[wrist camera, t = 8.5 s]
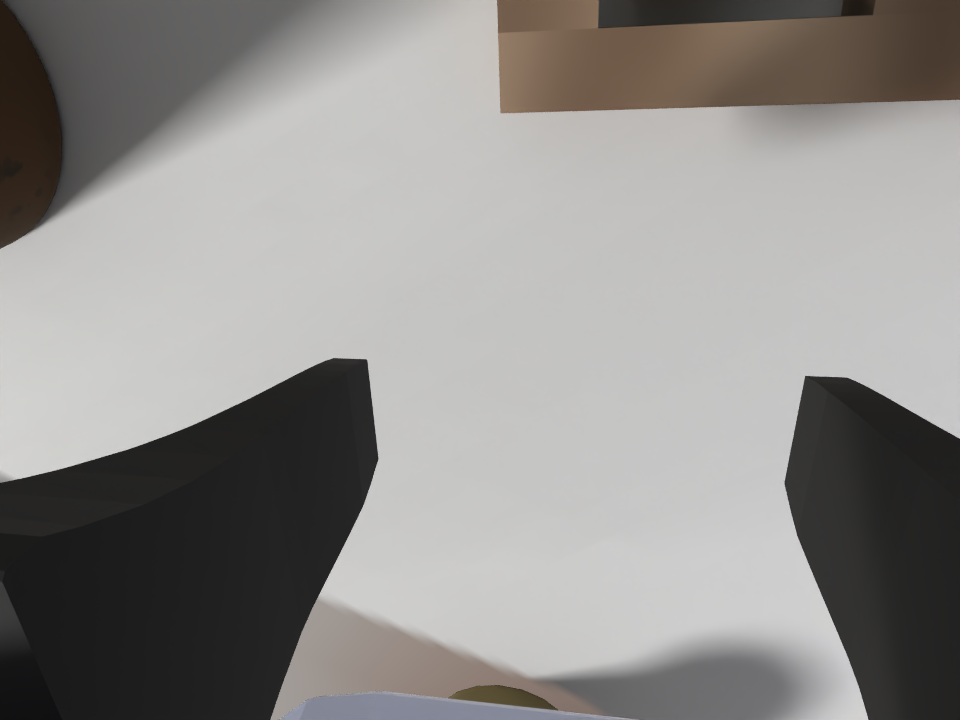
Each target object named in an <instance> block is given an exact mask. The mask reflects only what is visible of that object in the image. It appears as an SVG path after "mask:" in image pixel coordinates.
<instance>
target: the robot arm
mask: <svg viewBox="0 0 960 720" xmlns="http://www.w3.org/2000/svg"><path fill="white" fill-rule="evenodd" d="M377 462H378V451H377V443H376V434H375V425H374V416H373V407H372V398H371V390H370V381H369V372H368V363H367V360H366V359H339V358H333V359H330V360H327V361H324V362H322V363H320V364H317V365H315V366H313V367H311V368H309V369H307V370H305V371H303V372H301V373H299V374H297V375H295V376H293V377H291V378H289V379H287V380H285V381H283V382H281V383H279V384H277V385H275V386H274V387H272V388H270V389H268V390H266V391H264V392H262V393H260V394H258V395H256V396H254V397H252V398H250V399H248V400H246V401H244V402H242V403H240V404H238V405H235V406H233V407H231V408H229V409H227V410H225V411H223V412H221V413H218V414H216V415H214V416H212V417H210V418H208V419H206V420H203V421H201V422H199V423H197V424H194V425H192V426H190V427H187V428H185V429H183V430H180V431H178V432H175V433H173V434H170V435H167V436H165V437H162V438H159V439H157V440H154V441H151V442H148V443H146V444H143V445H140V446H137V447H134V448H131V449H128V450H125V451H122V452H118V453H115V454H112V455H108V456H105V457H101V458H98V459H95V460H91V461H88V462H84V463H81V464H78V465H74V466H71V467H67V468H64V469H60V470H56V471H52V472H48V473H43V474H39V475H35V476H31V477H26V478H22V479H17V480H12V481H8V482H3V483H0V720H270V719H271V716H272V713H273V710H274V707H275V704H276V701H277V698H278V695H279V692H280V689H281V686H282V684H283V681H284V678H285V676H286V673H287V670H288V667H289V665H290V662H291V659H292V656H293V654H294V651H295V649H296V646H297V643H298V640H299V638H300V635H301V632H302V630H303V628H304V625H305V623H306V621H307V619H308V617H309V614H310V612H311V610H312V607H313V605H314V604H315V602H316V600H317V598H318V596H319V594H320V592H321V590H322V588H323V586H324V584H325V582H326V580H327V578H328V576H329V574H330V572H331V570H332V568H333V566H334V564H335V562H336V560H337V558H338V556H339V554H340V552H341V550H342V548H343V546H344V544H345V542H346V540H347V538H348V536H349V534H350V532H351V530H352V528H353V526H354V524H355V522H356V520H357V518H358V516H359V513H360V511H361V509H362V507H363V505H364V502H365V499H366V496H367V493H368V490H369V487H370V484H371V481H372V478H373V475H374V471H375V468H376V465H377ZM785 487H786V492H787V496H788V500H789V505H790V509H791V513H792V517H793V521H794V525H795V528H796V532H797V536H798V538H799V541H800V543H801V546H802V548H803V551H804V553H805V556H806V558H807V561H808V563H809V565H810V568H811V570H812V573H813V575H814V578H815V580H816V582H817V585H818V587H819V589H820V592H821V594H822V597H823V599H824V601H825V604H826V606H827V608H828V611H829V613H830V615H831V618H832V620H833V623H834V625H835V627H836V630H837V632H838V634H839V637H840V639H841V642H842V644H843V646H844V649H845V651H846V653H847V656H848V658H849V661H850V664H851V666H852V669H853V672H854V675H855V677H856V680H857V683H858V685H859V688H860V692H861V695H862V699H863V702H864V705H865V709H866V712H867V715H868V719H869V720H960V439H959V438H957V437H955V436H954V435H952V434H950V433H948V432H946V431H945V430H943V429H941V428H939V427H937V426H936V425H934V424H932V423H930V422H929V421H927V420H925V419H923V418H922V417H920V416H918V415H916V414H915V413H913V412H911V411H909V410H908V409H906V408H904V407H902V406H901V405H899V404H897V403H895V402H894V401H892V400H890V399H888V398H887V397H885V396H883V395H881V394H879V393H878V392H876V391H874V390H872V389H870V388H868V387H866V386H864V385H862V384H860V383H858V382H856V381H854V380H851V379H849V378H842V377H815V376H805V380H804V385H803V390H802V396H801V401H800V406H799V411H798V416H797V421H796V426H795V432H794V437H793V442H792V447H791V452H790V457H789V462H788V468H787V473H786V478H785ZM279 720H639V719H630V718H621V717H612V716H603V715H594V714H584V713H575V712H566V711H557V710H548V709H539V708H530V707H521V706H512V705H503V704H494V703H485V702H476V701H467V700H458V699H449V698H439V697H429V696H421V695H412V694H403V693H393V692H385V691H376V692H364V693H352V694H341V695H328V696H320V697H315V698H311V699H307V700H306V701H305V702H303V703H302V704H300V705H299V706H298V707H296V708H295V709H294V710H292V711H291V712H289V713H288V714H287V715H285V716H284V717H282V718H281V719H279Z"/></svg>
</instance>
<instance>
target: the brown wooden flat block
mask: <svg viewBox="0 0 960 720" xmlns="http://www.w3.org/2000/svg"><path fill="white" fill-rule="evenodd" d="M497 6H498V40H499V74H500V108H501V113H524V112H558V111H591V110H625V109H659V108H693V107H726V106H760V105H794V104H827V103H861V102H895V101H929V100H960V0H497Z"/></svg>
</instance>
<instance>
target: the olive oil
mask: <svg viewBox="0 0 960 720" xmlns="http://www.w3.org/2000/svg"><path fill="white" fill-rule="evenodd" d="M61 156H62V142H61V130H60V122H59V117H58V112H57V107H56V103H55V99H54V96H53V92H52V89H51V86H50V83H49V81H48V78H47V75H46V73H45V70H44V68H43V66H42V63H41V61H40V59H39V57H38V55H37V53H36V51H35V49H34V47H33V45H32V44H31V42H30V40H29V38H28V37H27V35H26V33H25V32H24V30H23V29H22V27H21V25H20V24H19V23H18V21H17V20H16V18H15V17H14V15H13V14H12V13H11V11H10V10H9V9H8V7H7V6H6V5H5V4H4V2H3V1H2V0H0V248H3V247H5V246H7V245H9V244H11V243H13V242H14V241H16V240H18V239H19V238H21V237H22V236H23V235H25V234H26V233H27V232H29V231H30V230H31V229H32V228H33V227H34V226H35V225H36V224H37V223H38V222H39V220H40V219H41V218H42V216H43V215H44V214H45V212H46V210H47V209H48V207H49V205H50V203H51V201H52V198H53V196H54V193H55V190H56V187H57V184H58V180H59V175H60V168H61Z"/></svg>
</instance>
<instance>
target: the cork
mask: <svg viewBox="0 0 960 720" xmlns="http://www.w3.org/2000/svg"><path fill="white" fill-rule="evenodd" d="M449 699H458V700H467V701H476V702H485V703H494V704H503V705H512V706H521V707H530V708H539V709H548V710H557V709H556V708H555V707H553V706H552V705H551V704H549V703H548V702H547V701H545V700H544V699H542V698H540V697H538V696H535V695H533V694H531V693H529V692H526V691H524V690H521V689H516V688H510V687H505V686H500V685H495V686H476V687H472V688H469V689H465V690H462V691H458V692H456V693H455V694H454V695H452V696H451V697H449ZM557 711H559V710H557Z"/></svg>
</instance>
